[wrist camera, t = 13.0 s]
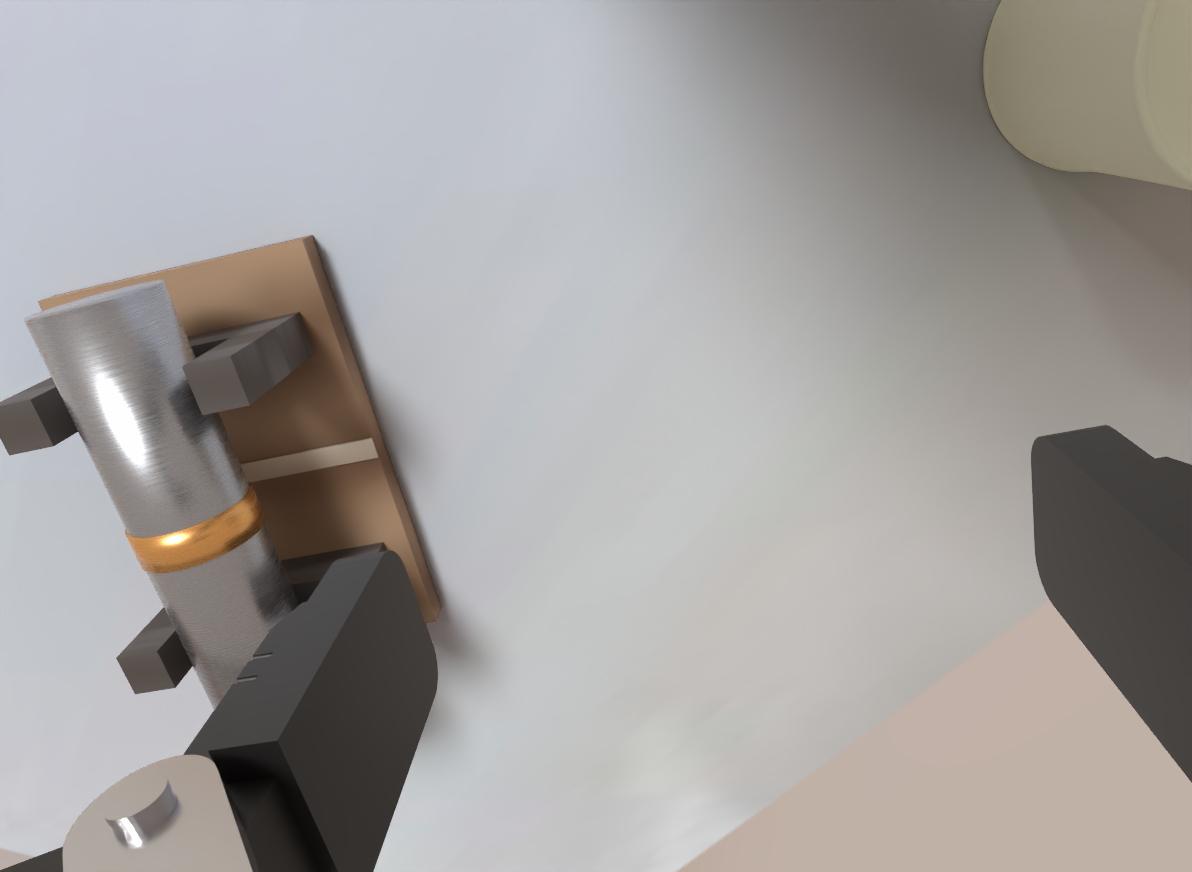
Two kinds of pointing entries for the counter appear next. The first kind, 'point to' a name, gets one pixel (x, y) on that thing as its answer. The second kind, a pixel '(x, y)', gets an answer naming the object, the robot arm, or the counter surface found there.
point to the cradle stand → (265, 424)
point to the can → (1095, 85)
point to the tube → (168, 473)
